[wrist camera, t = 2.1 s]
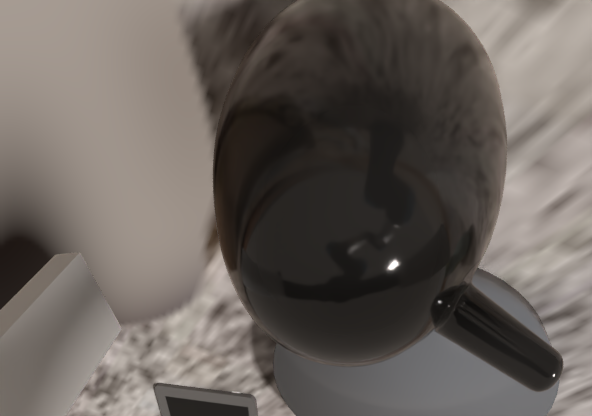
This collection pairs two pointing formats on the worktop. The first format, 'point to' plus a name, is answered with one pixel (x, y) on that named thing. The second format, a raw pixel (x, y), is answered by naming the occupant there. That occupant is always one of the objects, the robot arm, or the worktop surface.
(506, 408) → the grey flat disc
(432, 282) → the pump dispenser
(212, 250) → the worktop surface
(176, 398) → the smartphone
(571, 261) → the worktop surface
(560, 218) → the worktop surface
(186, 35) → the worktop surface
